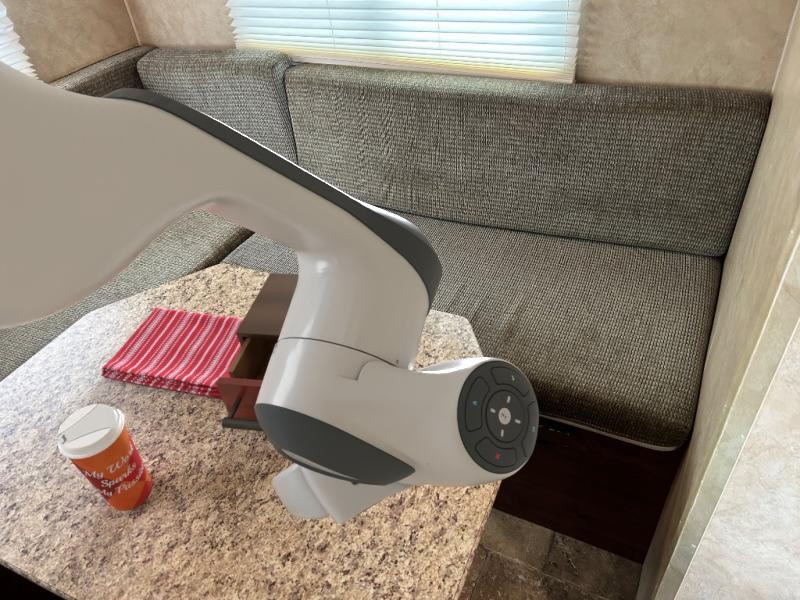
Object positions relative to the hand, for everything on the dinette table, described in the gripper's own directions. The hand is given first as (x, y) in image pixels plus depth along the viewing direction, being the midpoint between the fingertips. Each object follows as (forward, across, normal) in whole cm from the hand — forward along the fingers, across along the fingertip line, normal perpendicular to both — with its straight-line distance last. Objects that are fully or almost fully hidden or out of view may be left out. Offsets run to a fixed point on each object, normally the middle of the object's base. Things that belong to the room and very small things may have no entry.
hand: (348, 436), depth 64 cm
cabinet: (+34, -12, -11) cm, 38 cm away
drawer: (+29, -2, -6) cm, 29 cm away
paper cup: (+30, +20, -6) cm, 37 cm away
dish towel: (+44, +2, -20) cm, 48 cm away
